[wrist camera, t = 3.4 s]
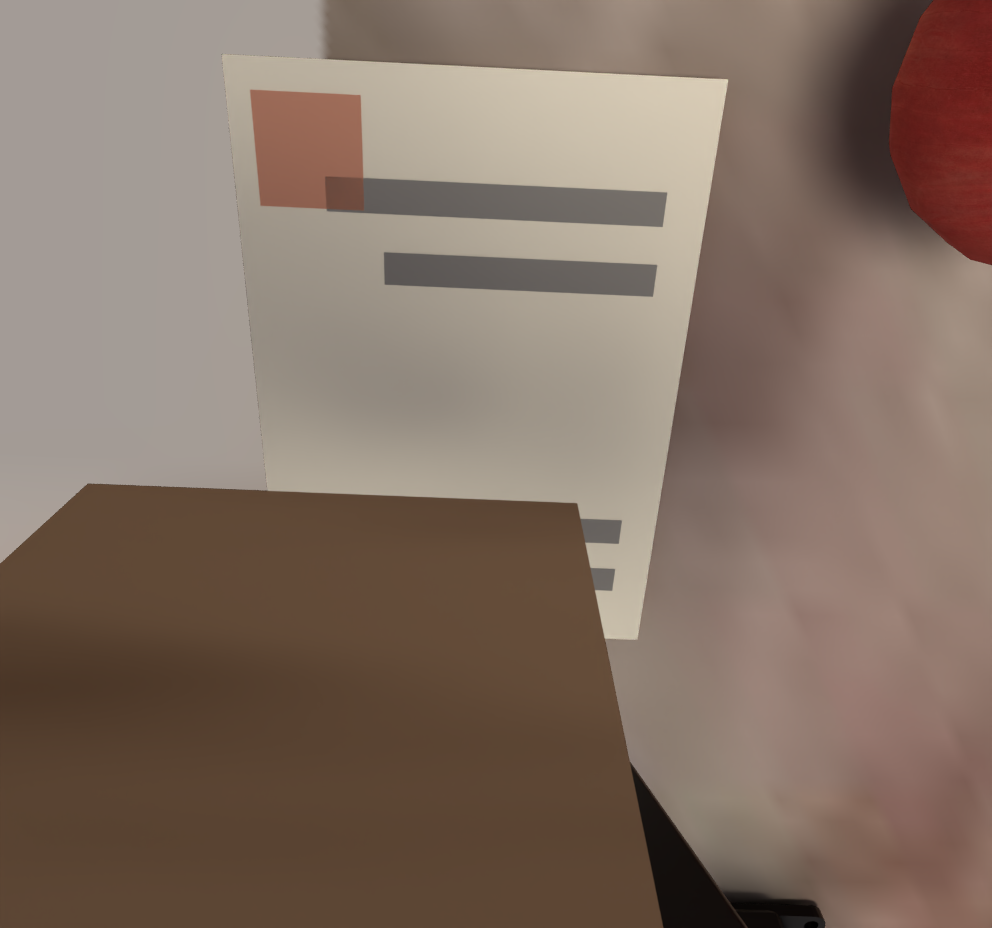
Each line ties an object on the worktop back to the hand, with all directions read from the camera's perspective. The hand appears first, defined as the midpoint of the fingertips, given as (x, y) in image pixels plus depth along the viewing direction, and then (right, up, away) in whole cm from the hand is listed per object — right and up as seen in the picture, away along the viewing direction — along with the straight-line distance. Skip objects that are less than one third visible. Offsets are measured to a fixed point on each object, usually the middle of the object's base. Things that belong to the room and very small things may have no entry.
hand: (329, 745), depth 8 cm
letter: (+1, +5, +10) cm, 11 cm away
